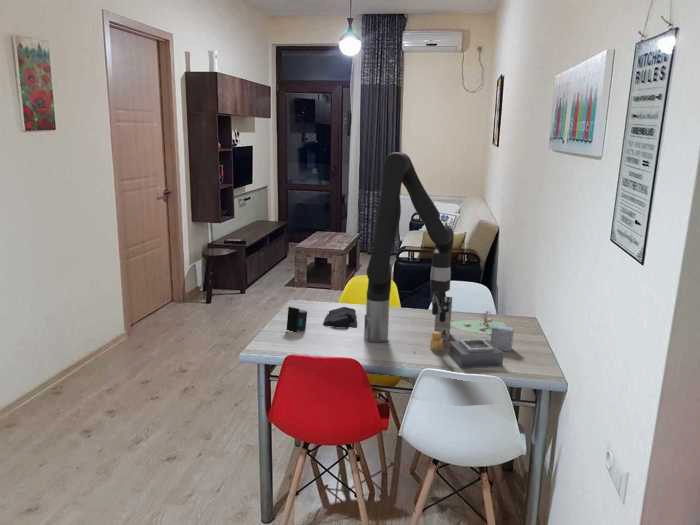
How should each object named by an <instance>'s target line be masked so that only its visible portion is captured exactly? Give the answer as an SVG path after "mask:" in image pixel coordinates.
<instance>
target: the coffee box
mask: <svg viewBox="0 0 700 525" xmlns="http://www.w3.org/2000/svg"><path fill="white" fill-rule="evenodd" d="M448 297H449V312H446V320H445V322H440V321H439V318H440V310H439V307H438V314H437V315H434V330H433V332H435V331H437V332H441V338H442V339H443V341H449V340H450V335H451V334H450V333H451V325H450V323H451V321H452V306H453V297H452V296H448ZM446 307H447V306H446ZM441 308H442V307H441Z"/></svg>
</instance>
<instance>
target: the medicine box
mask: <svg viewBox="0 0 700 525" xmlns="http://www.w3.org/2000/svg"><path fill="white" fill-rule="evenodd" d="M514 331H515V329H514V328H513V327H510V326H507V327H504V326H498V325H494V326H493V327H492V333H491V335H490V341H491V342H492V343H493V344H494V345H495V346H496V347H498V348H499V349H500V350H501V351H503V352H511V351H512V348H513V343H514V342H513V341H514V340H513V339H514Z"/></svg>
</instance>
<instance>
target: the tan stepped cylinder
mask: <svg viewBox="0 0 700 525" xmlns="http://www.w3.org/2000/svg"><path fill="white" fill-rule="evenodd" d="M429 340H430V342H429V349H430V350H432V351H434V352H436V351H437V352H440V351H442V350H443V344H444V343H443V341H444V340H443V339H442V338H441V332H437V331H435V332H434V331H433V332H432V336H431V337H430V339H429Z"/></svg>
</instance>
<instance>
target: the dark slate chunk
mask: <svg viewBox="0 0 700 525" xmlns="http://www.w3.org/2000/svg"><path fill="white" fill-rule="evenodd" d="M328 312H329V314H328V313H327V314H326V316H325V317H326V318H324V321H323V323H322V326H323V325H326V326H334V327H333V328H336V327H352V328H357V327H358V319H357V318H358V317H357V313H356V312H357V311H356V309H355V308H351V307H347V306H342V307H338V308H335V309H334V308H333V309H331V310H329V311H328ZM326 326H325V327H326Z"/></svg>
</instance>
